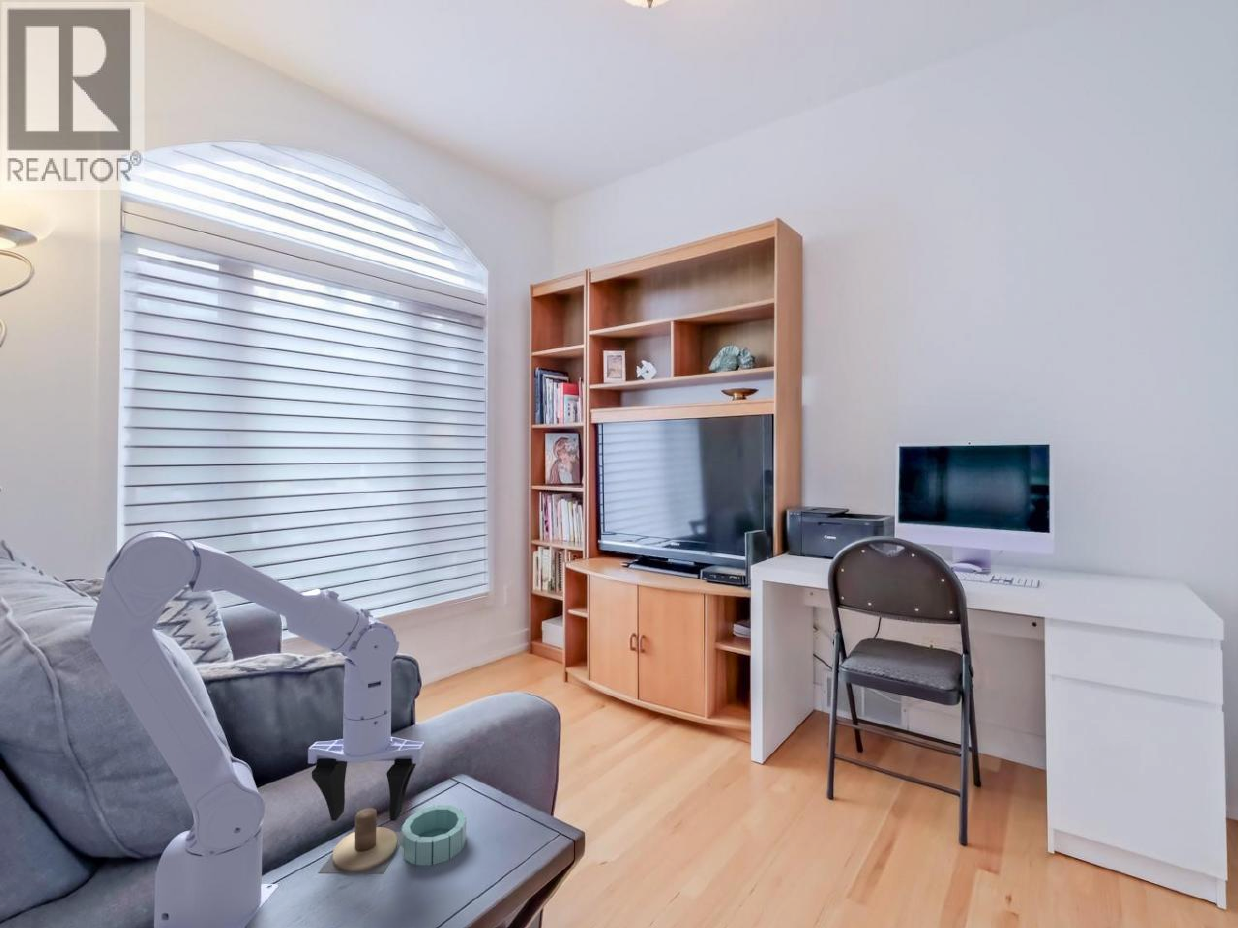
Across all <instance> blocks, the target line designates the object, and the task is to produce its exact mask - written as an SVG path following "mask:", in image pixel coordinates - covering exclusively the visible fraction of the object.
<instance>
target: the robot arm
mask: <svg viewBox="0 0 1238 928" xmlns="http://www.w3.org/2000/svg"><path fill="white" fill-rule="evenodd" d="M189 543H191V545H192V547H193V548H191V547H190V546H189V545H188V544H187V542H186V540H184V539H183V538H182V537H181V536H180V535H178V534H176V533H175V532H172V531H168V530H163V529H153V530H152V529H151V530H150V529H149V530H145V531H142V532H140V533H137V534H135V535H134V536H132V537H130V538H129V539H128V540H127V541H126V542H124V544H123V545H121V548H120V549H119V550H118V552H117V553H116V554H115V555H114V557H113V558H112V559H111V561H110V562H109V564H108V565H107V568H106V571H105V575H104V577H103V578H104V579H103V582H102V586H101V589H100V593H99V596H98V601H97V604H96V608H95V610H94V611H95V612H94V616H93V619H92V622H91V626H90V630H89V634H88V638H89V642H90V645H91V646H92V648H93V650H94V651H95V652H96V654H97V656H98V657H99V659H100V660H101V662H102V663H103V665H104V667H105V668H106V670H107V671H108V673H109V674H110V676H111V678H112V679H113V681H114V682H115V684H116V685H117V687H118V689H119V690H120V691H121V693H122V695H123V697H124V698H125V699H126V701H127V702H128V704H129V706H130V708H131V709H132V710H133V712H134V713H135V715H136V717H137V718H138V720H139V721H140V723H141V725H142V726H143V728H144V729H145V730H146V732H147V733H148V735H149V737H150V738H151V740H152V741H153V743H154V744H155V747H156V748H157V749H158V751H159V752H160V754H161V756H162V757H163V759H164V760H165V761H166V763H167V765H168V766H169V768H170V769H171V771H172V772H173V774H174V776H175V777H176V779H177V780H178V781H177V782H178V783H179V785H180V786H179V787H180V788H181V790H182V792H183V794H184V795H183V796H184V798H185V799H186V802H187V804H188V806H189V808H190V809H191V811H192V817H193V825H192V827H191V828H190V830H185V831H183V832H180V833H179V834H178V835H176V836H175V837H174V838H173V839H172V840H171V841H170V842H169V844H168V845H167V846H166V847H165V849H164V851H163V853H162V854H161V857H160V859H159V861H158V865H157V866H156V867H157V868H156V871H155V878H154V879H155V880H154V912H153V913H154V915H153V916H154V917H153V918H154V919H153V928H245V927H246V926H247V925H248V924H249V923H250V921H251V920H252V919H253V918H254V916H255V915H257V913H258V911H260V909H261V908H263V906H264V904H266V902H267V901H268V899H270V898H271V896H272V895H273V894H274V893H275V892H276V891H277V889H278V887H279V884H277V883H274V884H273V883H262V882H263V880H262V879H263V840H264V839H263V835H264V834H263V833H264V832H263V831H264V830H263V829H264V828H263V827H264V816H265V813H266V803H265V799H264V797H263V796H262V794H261V793H260V792H259V790H258V787H257V785H256V782H255V780H254V774H253V770H252V768H251V767H250V765H249V764H248V763H247V762H245V761H244V760H242V759H239V758H237V757H234V755H232V754H231V753H230V752H229V750H228V748H227V747H226V745H225V744H224V743H223V742H222V741H221V740H220V738H219V737H218V735H217V733H216V731H215V730H214V728H213V727H212V725H211V723H210V722H209V720H208V718H207V717H206V714H204V712H203V710H202V708H201V707H200V705H199V704H198V702H197V700H196V698H195V696H193V694H192V692H191V691H190V688H189V687H188V684H186V682H185V681H184V679H183V677H182V675H181V673H179V670H178V668H177V667H176V666H175V664H174V662H173V661H172V659H171V657H170V655H169V654H168V652H167V650H166V648H165V647H164V646H163V643H162V642H161V641H160V639H159V637H158V635H157V634H156V632H155V631H154V628H155V626H156V624H157V622H158V621H159V619H160V618H161V615H162V614H163V611H164V610H165V607H166V605H167V604H168V603H169V602H171V600H172V599H173V598H174V597H176V596H177V595H178V594H180V592H181V591H183V589H184V588H185V587H187V585H188V587H189V589H190V591H191V592H192V593H199V592H207V591H215V590H222V591H226V592H227V593H230V594H232V595H235V596H237V597H240V598H242V599H244V600H246V601H249V602H251V603H253V604H255V605H257V606H260V607H263V608H265V609H268V610H270V611H272V612H273V613H276V614H279V615H281V616H283V617H285V622H286V627H287V631H288V632H289V633H291V634H293V635H295V636H297V637H300V638H302V639H304V640H306V641H308V642H310V643H313V644H315V645H317V646H319V647H321V648H324V649H326V650H328V651H330V652H331V653H334V654H338V653H340V654H341V655H342V656H343V657H347V658H345V659H344V677H343V723H342V724H343V725H342V726H343V729H342V736H343V737H342V738H339V739H334V740H327V741H326V740H325V741H316V742H314V743H313V744H312V745H311V746H310V747H308V749H307V763H308V764H315V768H314V769H312V771H311V778H312V780H313V781H314V782H315V783H316V785H317V786H318V788H319V790H320V791H321V793H322V796H323V798H324V800H325V802H326V806H327V810H328V813H329V817H330V820H331V821H333V822H335V821H338V819H339V818H340V817H341V816H342V815H343V813H344V811H345V804H346V797H345V796H346V783H345V782H346V775H347V767H348V763H355V764H356V763H357V764H358V763H360V764H361V763H366V762H369V763H370V762H393V764H392V765H391V766H390V767H389V768H388V770H387V771H386V773H385V774H386V778H387V783H388V789H389V814H388V815H389V821H391V822H394V821H397V820H398V818H399V817H400V816H401V813H402V809H403V804H404V800H405V796H406V795H405V794H406V792H407V789H408V786H409V782H410V779H411V777H412V774H413V773H414V770H415V768H416V765H417V764H418V765H419V764H421V762H422V761H423V760H424V758H425V756H426V755H425V754H426V741H418V740H416V741H414V740H409V739H404V738H400V737H399V738H398V737H394V736H392V734H391V733H392V727H391V726H392V661H393V660H394V658H395V657H396V655H397V653H398V651H399V647H400V642H399V640H397V637H396V633H395V631H394V630H393V628H392V627H390V625H388V624H386V623H384V622H383V621H381V620H379V619H377V618H376V617H374V615H372V614H371V611H370V610H367V609H365V608H364V607H361V608H360V609H358V608H356V607H355V606H352V605H350V604H349V603H346V602H345V601H344V600H343V601H342V600H340V599H339V597H340V594H339V593H337V592H336V591H334V590H332V589H330V588H328V589H326V590H325V591H324V590H321V589H319V588H314V589H311V590H307V591H303V592H300V591H297V590H296V589H294V588H292V587H290V586H289V585H286V584H285V583H283V582H281V581H279V580H277V579H276V578H274V577H272V576H270V575H268V574H266V573H264V572H263V571H261V570H259V569H257V568H255V567H253V566H251V565H250V564H248V563H246V562H244V561H242V560H241V559H240V558H236V557H235V556H233V555H232V554H229V553H227V552H226V551H222V550H219V549H217V548H215V547H212V546H209V545H206V544H204V543H202V542H201V543H200V542H199V541H198V542H197V541H194V540H191V539H190V540H189Z"/></svg>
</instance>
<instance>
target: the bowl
mask: <svg viewBox="0 0 1238 928" xmlns="http://www.w3.org/2000/svg"><path fill="white" fill-rule="evenodd" d="M401 832H402V833H401V844H400V851H401V854H402V859H404V861H406V862H407V863H408V862H409V863H410V864H412V865H414V866H415V865H416V866H432V865H434V866H435V865H437V864H441V863H444V862H446V861H449V860H451V859H453V858H454V857H455V856H456V855H458V854H459V853H460V852H462V850H463V849H464V847H465V844H466V842H467V815H466V814H465V812H464V810H463V809H461V808H460V807H459V808H458V807H456V806H453V805H444V804H443V805H441V804H440V805H433V806H430V807H426V808H423V809H422V808H421V809H420V810H417V811H416V812H414V813H413V814H411V815H410V816H409V817H408V818H406V819H405V821H404V823H403V824H402V826H401Z"/></svg>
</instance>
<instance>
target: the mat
mask: <svg viewBox="0 0 1238 928" xmlns="http://www.w3.org/2000/svg"><path fill="white" fill-rule="evenodd" d="M354 832H355V831H349V832H348V833H347V834H346V836H348V835H350V834H352V833H354ZM393 832H394V833H395V834H396V836H397V846H396V849H395V851H394V853H393V854H392V855H391V856H390V857H389V858H388V859H387V860H386V861H384V862H383V863H381V864H379V865H377V866H375V867H372V868H370V869H366V870H362V871H353V872H351V871H343V870H340V869H338V868H337V867H336V866H335V865H334V864H333V853H332V854H331V855H330V857H329V858H328V859H327V860H326V862H325V863H324V865H322V867H321V868H320V870H319V871H318V874H384V873H385V872H386V870H387V868H388V866H389V864H390V863H391V861H392V860H393V857H394V856H395V854H396V852H397V851H398V849H400V847H401V833H402V831H399V832H398V831H393Z"/></svg>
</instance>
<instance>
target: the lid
mask: <svg viewBox="0 0 1238 928" xmlns="http://www.w3.org/2000/svg"><path fill="white" fill-rule="evenodd" d="M377 812H378V810H376V808H372V807H369V808H364V809H361V810H359V811H357V812H356V813H355V815H354V831H353V832H354V833H352V834H350V835H348V836H347V835H346V836H345V837H343V838H342V839H341V840H339V841H338V843H336V845H335V847H334V848H333V852H332V854H333V864H334V865H335V866H336V867H337V868H338V869H340V870H343V871H351V872H353V871H362V870H366V869H370V868H372V867H375V866H377V865H379V864H381V863H383V862H384V861H386V860H387V859H388V858H389V857H390V856H391V855H392V854H393V853H394V851H395V849H396V846H397V836H396V834H395V833H394V832H395V831H393V830H391V828H387V827H384V826H383V827H382V826H377V825H378V824H377V823H378V822H377V820H378V819H377V817H378V816H377V815H378V813H377Z"/></svg>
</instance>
